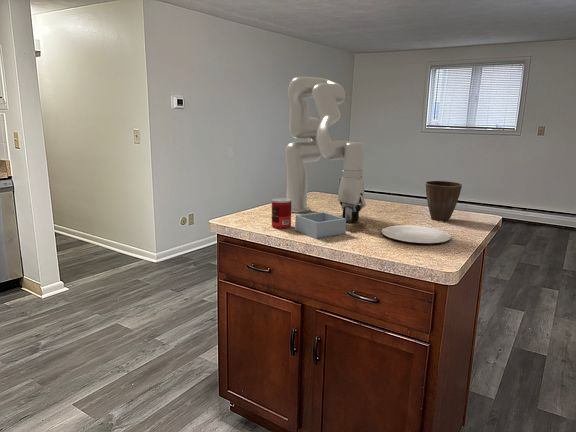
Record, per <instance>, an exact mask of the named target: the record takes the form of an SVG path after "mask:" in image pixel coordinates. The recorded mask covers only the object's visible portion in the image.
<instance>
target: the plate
mask: <svg viewBox="0 0 576 432" xmlns="http://www.w3.org/2000/svg"><path fill="white" fill-rule="evenodd" d="M381 233H382V235H383V236H385V237H386V238H389V239H391V240H395V241H397V242H398V241H399V242H404V243H409V244H410V243H411V244H419V245H422V244H423V245H433V244H435V245H436V244H442V243H446V242H448V241H450V240H451V239H452V237H451V235H450V234H449V233H447V232H446V231H444V230H441V229H437V228H433V227H428V226H423V225H407V224H406V225H391V226H387V227H384V228H382V230H381Z"/></svg>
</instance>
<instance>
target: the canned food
mask: <svg viewBox="0 0 576 432" xmlns="http://www.w3.org/2000/svg"><path fill="white" fill-rule="evenodd" d="M291 202H292V201H291V199H289V198H287V197H275V198H272V199H271V227H272V228H273V229H277V230H278V229H279V230H286V229H290V228H291V225H292V212H291Z"/></svg>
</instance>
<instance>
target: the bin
mask: <svg viewBox="0 0 576 432" xmlns="http://www.w3.org/2000/svg"><path fill="white" fill-rule="evenodd" d="M342 217H343V216H342ZM342 217H341V216H338V215H334V214H332V213H328V212H326V211H323V212H322V211H320V212H311V213H307V214H297V215H295V225H294V226H295V229H294V231H295V232H297V233H300V234H303V235H305V236H308V237H310V238H313V239H315V240H319V239H325V238H331V237H337V236H344V235H346V232H347V231H346V219H345V218H342Z"/></svg>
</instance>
